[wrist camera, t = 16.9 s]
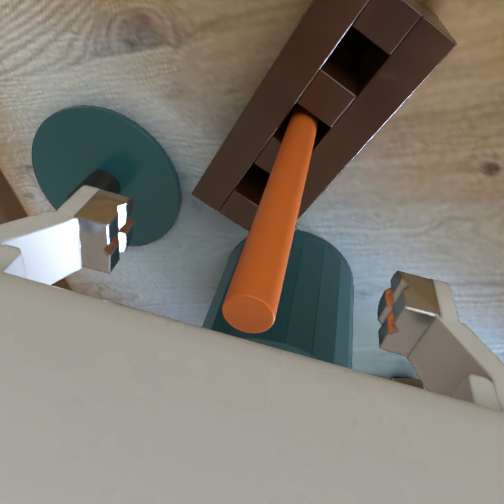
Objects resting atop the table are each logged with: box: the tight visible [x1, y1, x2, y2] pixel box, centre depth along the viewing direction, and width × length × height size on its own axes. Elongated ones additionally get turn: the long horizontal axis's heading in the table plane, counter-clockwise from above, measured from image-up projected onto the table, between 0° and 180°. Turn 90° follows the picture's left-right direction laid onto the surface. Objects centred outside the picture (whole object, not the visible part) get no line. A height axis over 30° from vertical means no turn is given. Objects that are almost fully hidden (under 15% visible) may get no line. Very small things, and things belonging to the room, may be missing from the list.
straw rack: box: [192, 0, 457, 231], centre depth 22 cm, size 6×13×6 cm, turn 148°
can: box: [202, 230, 354, 369], centre depth 30 cm, size 10×10×11 cm
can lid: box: [32, 105, 181, 246], centre depth 30 cm, size 11×11×4 cm
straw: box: [222, 102, 319, 333], centre depth 18 cm, size 1×1×18 cm
